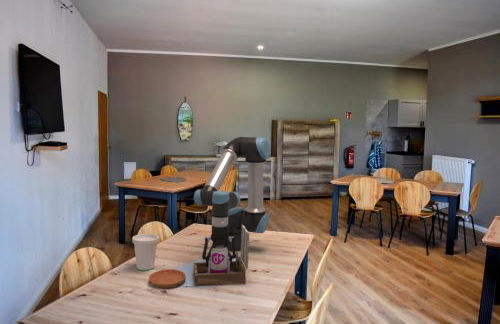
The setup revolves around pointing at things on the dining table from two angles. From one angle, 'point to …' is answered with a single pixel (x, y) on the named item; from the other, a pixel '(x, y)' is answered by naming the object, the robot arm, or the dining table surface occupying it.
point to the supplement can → (219, 260)
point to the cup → (145, 250)
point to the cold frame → (236, 267)
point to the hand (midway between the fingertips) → (218, 273)
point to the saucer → (167, 278)
